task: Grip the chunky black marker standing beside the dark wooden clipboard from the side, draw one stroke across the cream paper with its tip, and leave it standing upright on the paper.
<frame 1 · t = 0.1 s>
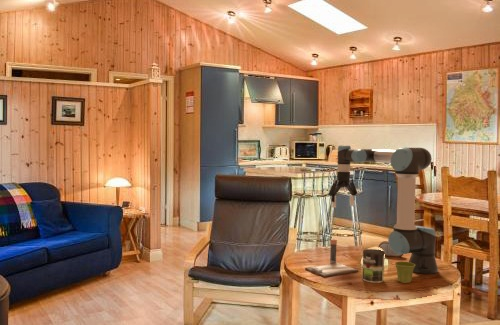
hand: (342, 206, 294), 28 cm above the table, tool pointing down, fingers open, 13 cm apart
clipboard: (331, 270, 256), on the table
coffee can: (372, 280, 241), on the table
marker: (333, 263, 271), on the table
plant pot: (404, 281, 239), on the table
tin: (391, 256, 290), on the table
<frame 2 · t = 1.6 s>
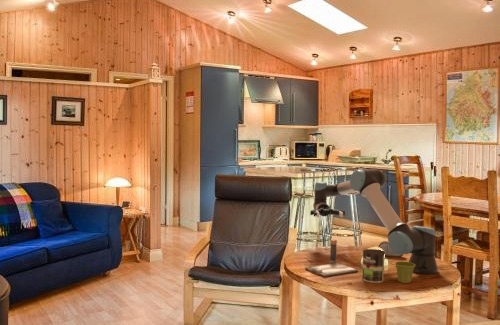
hand: (330, 215, 279), 25 cm above the table, tool horizontal, fingers open, 13 cm apart
nothing on the table moved.
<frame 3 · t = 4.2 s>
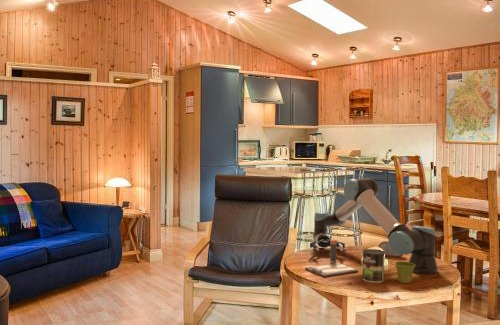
hand: (330, 248, 277), 7 cm above the table, tool horizontal, fingers open, 13 cm apart
nothing on the table moved.
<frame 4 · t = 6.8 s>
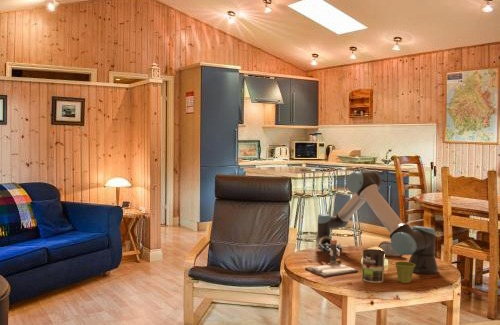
hand: (335, 253, 265), 7 cm above the table, tool horizontal, fingers closed on marker, 3 cm apart
marker: (333, 263, 271), on the table, touching gripper
everything else where it was.
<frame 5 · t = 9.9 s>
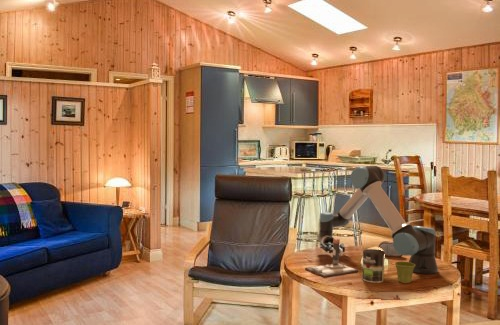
hand: (338, 252, 258), 9 cm above the table, tool horizontal, fingers closed on marker, 3 cm apart
marker: (335, 263, 264), point 2 cm above the table, touching gripper
everything else where it was.
when the fingers open (8 cm above the table, at t = 13.3 s): marker stays where it is, resting on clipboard.
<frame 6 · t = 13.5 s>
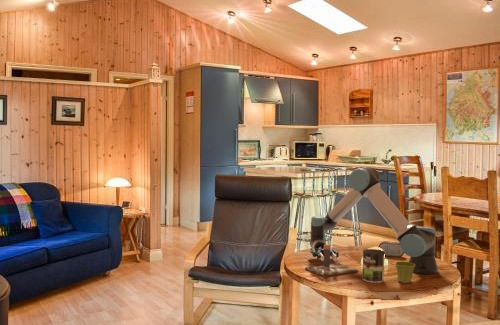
hand: (329, 258, 248), 8 cm above the table, tool horizontal, fingers open, 6 cm apart
marker: (326, 269, 254), point 1 cm above the table, touching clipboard
everything else where it was.
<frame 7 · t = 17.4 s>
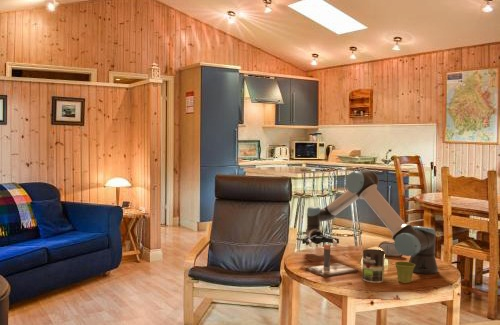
hand: (323, 244, 263), 12 cm above the table, tool horizontal, fingers open, 13 cm apart
nothing on the table moved.
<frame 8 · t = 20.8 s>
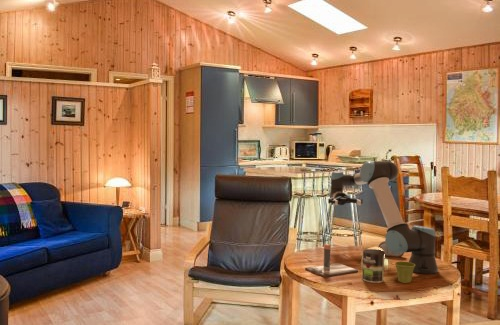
hand: (348, 203, 281), 32 cm above the table, tool horizontal, fingers open, 13 cm apart
nothing on the table moved.
at the end: marker inside the target area on the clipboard (4.6 cm from its centre), point 1.2 cm above the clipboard's base; marker tilted 1°; the gripper is holding nothing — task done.
